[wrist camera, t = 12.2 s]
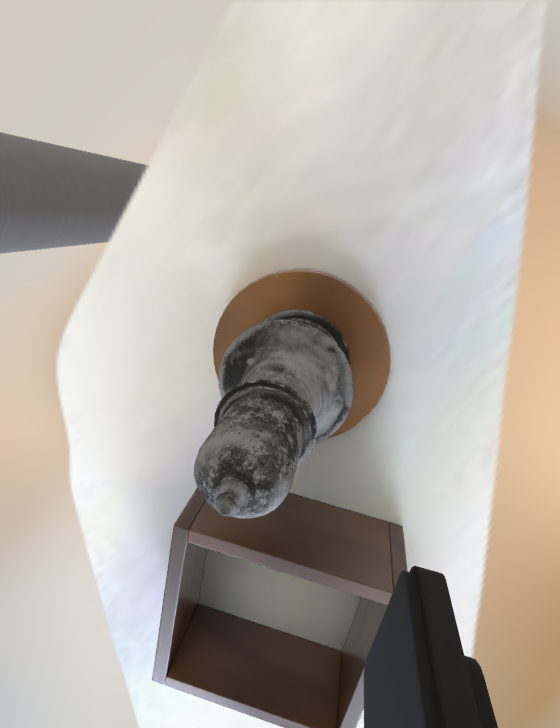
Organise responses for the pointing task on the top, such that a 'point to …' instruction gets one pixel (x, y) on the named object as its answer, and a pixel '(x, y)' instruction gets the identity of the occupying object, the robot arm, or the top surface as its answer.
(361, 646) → the crate
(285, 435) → the stone chess piece
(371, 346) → the coaster
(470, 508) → the top surface
